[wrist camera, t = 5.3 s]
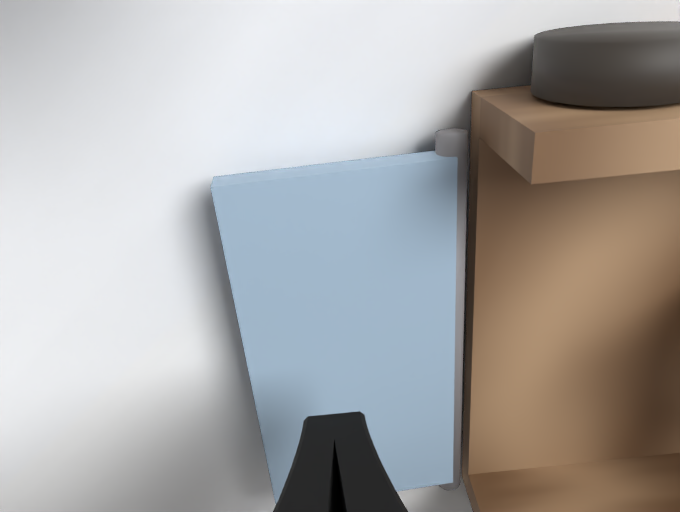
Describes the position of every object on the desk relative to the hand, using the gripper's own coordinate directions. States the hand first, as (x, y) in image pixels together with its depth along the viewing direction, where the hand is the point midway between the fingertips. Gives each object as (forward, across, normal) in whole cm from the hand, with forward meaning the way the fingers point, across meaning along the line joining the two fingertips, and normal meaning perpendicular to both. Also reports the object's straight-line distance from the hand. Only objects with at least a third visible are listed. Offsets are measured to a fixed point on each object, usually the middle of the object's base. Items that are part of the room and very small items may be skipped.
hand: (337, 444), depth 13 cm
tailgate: (+4, -4, 0) cm, 5 cm away
